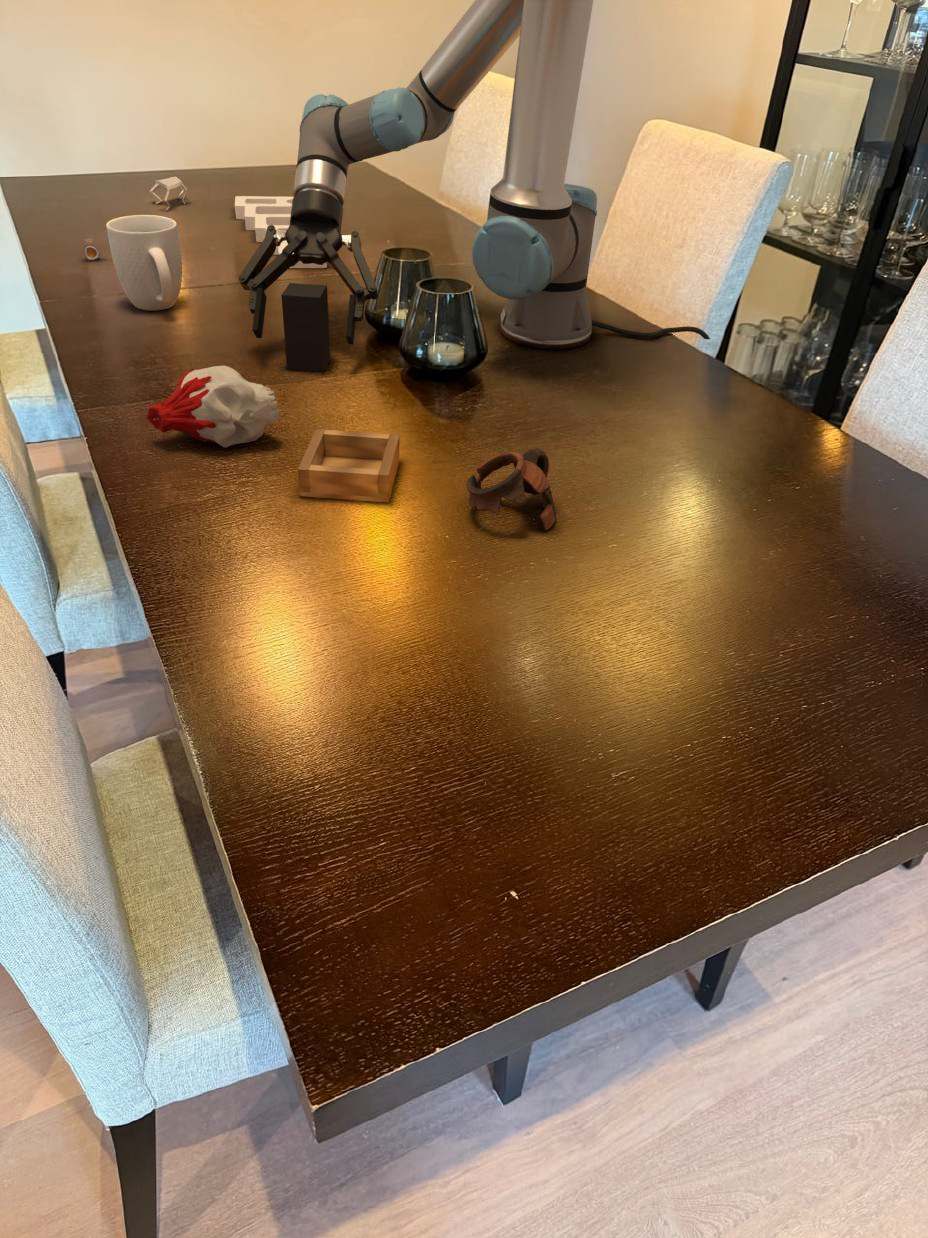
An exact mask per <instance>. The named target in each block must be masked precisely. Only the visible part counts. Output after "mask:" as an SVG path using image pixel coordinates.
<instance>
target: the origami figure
mask: <svg viewBox="0 0 928 1238" xmlns="http://www.w3.org/2000/svg"><path fill="white" fill-rule="evenodd" d="M154 181H155V184H154V185H153V186H152V187H151V189H149V192H150V194H152V195H153V196H154V197H156V198H157V199H158V201H156V202H155V205H158V204H161V203H162V202H163V201H164V202H165V203H166V205H168V207H166V208H165V211H169V209H170V208H171V204H170V203H169V201H168V198H169V194H170V191H171V190H174V189H176V188H178V187H179V188H180V190H181V191H180V192H179V194H178V195H177V198H179V200H181V201H182V203H183V204H184V205H186V202H185V197H186V196H187V193H188V190H189V189H188V188H187V187H186V186H185V184H184V183H183V180H181V179H180V178H178V177H177V176H172V177H167V178H163V179H155V180H154ZM160 187H163V188H164V189H166V193H165V196H164V199H163V200H162V198H160V197H159V195H157V194H156V193H155V191H156V190H157V189H158V188H160ZM183 193H184V194H183ZM182 194H183V196H182V197H181V195H182Z"/></svg>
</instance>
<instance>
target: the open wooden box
mask: <svg viewBox="0 0 928 1238" xmlns="http://www.w3.org/2000/svg"><path fill="white" fill-rule="evenodd" d="M400 437H401V436H400V434H393V433H392V434H391V433H378V432H376V433H375V432H366V431H365V432H363V431H350V430H349V431H348V430H338V429H337V430H335V429H334V430H333V429H321V428H315V429H314V432H313V433H312V436H311V438H310V441H309V443H308V445H307V447H306V450H305V451H304V454H303V457H302V459H301V460H300V464H299V465H298V468H297V475H298V488H299V489H298V490H299V497H305V498H318V499H319V498H320V499H332V500H347V501H348V500H349V501H359V502H373V503H374V502H375V503H387V504H388V503H389V502H390V499H391V495H392V491H393V489H394V483H395V480H396V476H397V473H398V469H399V464H400Z"/></svg>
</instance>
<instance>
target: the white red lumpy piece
mask: <svg viewBox="0 0 928 1238" xmlns="http://www.w3.org/2000/svg"><path fill="white" fill-rule="evenodd" d="M276 399H277V397H276V395H275V390H272V389H271V388H270V387H266V386H265V385H263V384H261V383H255V382H250V381H248V380H246V379H245V378H244V377H243V376H241V374H240V373H239V372H238V371H237V370H236V369H234V368H232V367H230V366H228V365H216V366H215V365H214V366H210V367H205V368H201V369H194V368H193V367H192V368H191V369H190V370H188V371H187V372H184V374H183V375H182V376H181V377H180V379H179V381H178V382H177V386H176V389H175V390H174V391H173V392H172V394H171V395H170V396H169V397H168V398H167V399H165V400H164V401H162V402H161V401H160V402H159V403H156V404H153V405H151V406H149V407H148V408H147V414H146V418H147V420H148V421H149V422H150V424H151V425H152V426H153V427H154V428H155V429H157V430H159V431H160V432H161V433H167V432H169V431H179V432H181V433H183V434H186V435H189V436H192V437H193V438H195V439H197V440H199V441H202V442H215V443H217V445H219V446H221V447H222V448H225V449H226V448H229V447H231V446H233V445H238V444H246V443H247V444H248V443H251V442H255V441H257V440H258V439H260V438H261V437H262V436H263V435H264V433H265V431H264V429H265V428H266V427H267V426H270V425H273V424H274V423H276V422H278V421H279V420H280V419H281V418H280V414H281V411H280V409H279V408H277V407H279V402H278V401H277V400H276Z"/></svg>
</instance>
